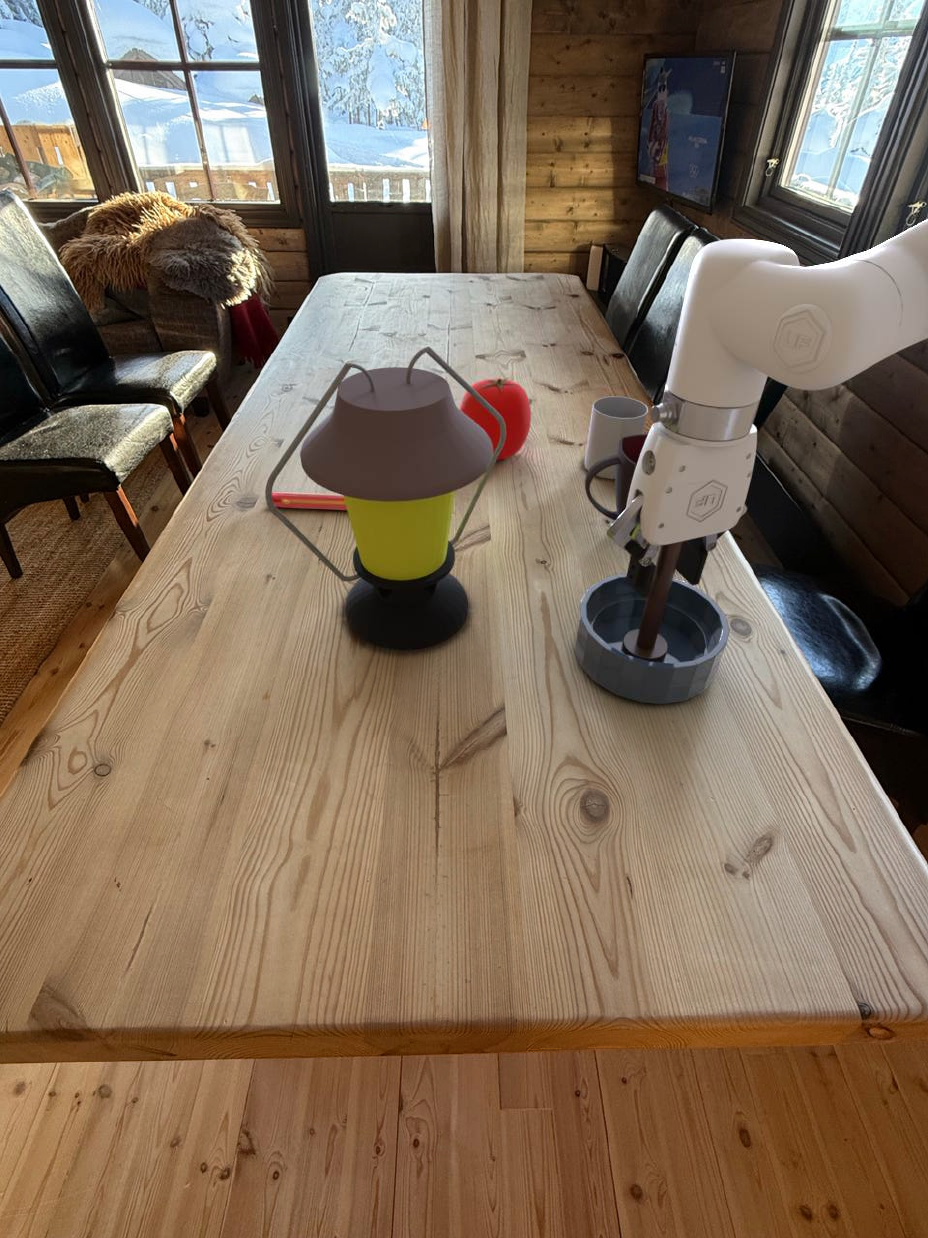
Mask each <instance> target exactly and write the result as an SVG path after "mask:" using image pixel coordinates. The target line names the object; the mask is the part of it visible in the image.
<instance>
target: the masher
mask: <svg viewBox="0 0 928 1238" xmlns="http://www.w3.org/2000/svg"><path fill="white" fill-rule="evenodd" d="M682 545H683V541H681V542H676V543H672V544H667V545H660V547H659V549H658V551H657V557H656V560H655V563H654V564H655V565H656V569H655V573H654V577H653V581H652V585H651V589H650V593H649V595H648V597H647V601H646V605H645V609H644V613H643V617H642V621H641V625H640V629H635V630H632V631H629V632H628V633H627V634H626V635H625V636H624V639H623V643H622V652H623V653H624V654H626V655H629V656H633V657H636V658H639V659H642V660H646V661H649V662H662V661H663V660H664V659H665V656H666V653H667V649H668V645H667V642H666V640H665V639H664V638H663V637H662V636H661V635H660V634H658V632H659V628H660V625H661V621H662V617H663V614H664V610H665V606H666V603H667V599H668V595H669V592H670V588H671V585H672V581H673V578H675V577H674V576H675V572H676V566H677V563H678V559H679V555H680V552H681V548H682Z"/></svg>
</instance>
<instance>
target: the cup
mask: <svg viewBox="0 0 928 1238" xmlns="http://www.w3.org/2000/svg"><path fill="white" fill-rule="evenodd" d="M648 415H649V408H648V406H647V405H646V403H644V402H642V401H641V400H638V399H634V398H632V397H628V396H627V397H626V396H619V395H615V396H614V395H613V396H604V397H601V398H597V399H596V400H594V402H593V403H592V407H591V415H590V421H589V428H588V436H587V441H586V449H585V455H584V468H585V469H586V470H587V472H588V471H589V469H590V468H591V467H592V466H593V465H594V464H595V463H596V462H598V461H599V460H601V459H603V458H606V457H609V456H613V455H617V448H618V443H619V440H620V438H621V437H625V436H630V435H637V434H645V431H646V424H647V421H648ZM615 469H616V465H613V466H610V467H607V468H605V469H603V470H602V471H600V472H599V473H598V474H597V475H596V476H595V477H599V478H603V479H609V480H615Z"/></svg>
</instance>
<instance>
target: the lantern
mask: <svg viewBox="0 0 928 1238" xmlns="http://www.w3.org/2000/svg"><path fill="white" fill-rule="evenodd" d="M424 354H427V355H428V356H429V357H430V358H431V359H432V360H433V361H434V362H435V363H437V365H439V366H440V368H442V369H443V370H444V371H445V372H446V373H447V374H448V375H449V376H450V377H452V378H453V380H455V381H456V382H457V383H458V384H459V385H460V386H461V387H462V388H463V389H464V390H465V391H466V392H467V391H468V392H469V393H470V394H471V395H472V396H473V397H474V398H475V399H476V400H477V401H478V402H479V403H480V404H481V405H483V406H484V407H485V408H486V409H487V410H488V411H489V412H490V413H491V414H492V415H493V416H494V417H495V418H496V419H497V420H498V422H499V424H500V428H501V436H500V441H499V444H498V446H497V448H496V450H495V452H494V454H493V445H492V442H491V439H490V438H489V436H488V435H487V433H486V432H485V430H484V429H483V428H481V427H480V426H479V425H478V424H477V423H476V422H474V421H473V420H472V419H471V418H469V417H468V416H467V415H466V414H464V413H463V412H462V411H461V410H460V408H459V407H457V404H456V402H455V399H454V396H453V392H452V390H451V386H450V384H449V382H448V381H447V379H445V378H444V377H443V376H441V375H439V374H437V373H436V372H432V371H429V370H426V369H425V370H424V369H420V368H414V367H415V364H416V362H417V361H418V360H419V359H420V357H422V356H423V355H424ZM352 368H353V369H357V370H359V371H360V372H357V373H355V374H352V375H350V376H348V377H346V376H347V374H348V373H349V371H350V370H351V369H352ZM345 377H346V378H345ZM335 392H336V395H335V401H334V406H333V409H332V411H331V412H330V413H329V414H328V415H327V417H325V418H324V419H323V420H322V421H321V422H320V423H318V425H317V426H315V428H314V429H312V430H311V431H310V433H309V434H308V435H307V433H308V432H309V430H310V429H311V428H312V426H313V424H314V423H315V422H316V420H317V419H318V417H319V416H320V415H321V413H322V411H323V410H324V408H325V407H326V406H327V404H328V402H329V401H330V399H331V398H332V397H333V395H334V393H335ZM306 435H307V436H306ZM305 436H306V438H305ZM304 438H305V439H304ZM505 438H506V426H505V422H504V420H503V418H502V416H501V415H500V414H499V413H498V412H497V411H496V410H495V409H494V408H493V407H492V406H491V405H490V404H489V403H488V402H487V401H486V400H485V399H484V398H482V397H481V396H480V395H479V394H478V393H477V392H476V391H475V390H474V389H473V388H472V387H471V385H470V384H469V383H468V382H467V381H466V380H465V379H464V378H462V376H461V375H460V374H459V373H458V372H457V371H455V369H453V368H452V367H451V365H449V364H448V363H447V362H446V361H445V360H444V359H443V358H442V357H441V356H440V355H439V354H438V353H437V352H436V351H434V349H432V347H430V346H426V347H424V348H422V349H420V350H419V351H417V352H416V353H415V354H414V356H413V357H412V358H411V360H410V361H409V364H408V366H407V367H403V366H402V367H401V366H394V367H393V366H392V367H391V366H390V367H380V368H372V369H368V370H367V369H366V368H365V367H363V366H362V365H360V364H357V363H353V362H345V363H344V365H343V367H342V368H341V369H340V370H339V373H338V374H337V375H336V377H335V378H334V380H333V382H332V383H331V384H330V386H329V387H328V389H327V390H326V392H325V394H323V395H322V397H321V399H320V400H319V402H318V403H317V405H316V406H315V407H314V409H313V411H312V412H311V414H310V416H309V417H308V418H307V420H306V421H305V423H304V425H303V426H302V427H301V428H300V430H299V431H298V433H297V434H296V436H295V438H294V439H293V441H292V442H291V443H290V445H289V446H288V448H287V449H286V450H285V452H284V453H283V455H282V457H281V458H280V460H279V461H278V462H277V464H276V466H275V467H274V468H273V470H272V471H271V473H270V474H269V477H268V479H267V481H266V484H265V490H264V494H265V495H264V496H265V502H266V505H267V507H268V509H269V511H270V512H271V513H272V514H273V515H274V516H275V517H276V518H277V519H278V520H280V522H281V523H282V524H283V525H284V526H285V527H287V528H288V530H289V531H291V533H293V535H295V537H297V538H298V539H299V540H300V541H301V542H302V544H304V545H305V546H306V547H307V548H308V549H309V550H310V551H311V552H312V553H313V554H314V555H315V556H316V557H317V558H318V560H320V561H321V562H322V564H324V565H325V566H326V567H327V568H328V569H329V570H330V571H331V572H332V573H333V574H334V575H335V576H336V577H337V578H338V579H339V580H340V581H342V582H354V581H356V582H355V583H354V585H353V586H352V587H351V588H350V589H349V590H350V591H349V592H348V594H347V597H346V600H345V601H346V602H345V616H346V620H347V623H348V624H349V626H350V628H351V630H352V632H354V633H355V634H356V635H357V636H358V637H359V638H361V639H362V640H363V641H365V642H367V643H369V644H372V645H374V646H377V647H380V648H384V649H389V650H398V651H410V650H418V649H424V648H429V647H431V646H435V645H438V644H440V643H442V642H444V641H446V640H448V639H449V638H451V637H452V636H453V635H454V634H456V633H457V632H458V631H459V630H460V628H461V627H462V626H463V624H464V622H465V621H466V618H467V615H468V611H469V600H468V599H469V598H468V596H467V592H466V590H465V588H464V586H463V585H462V584H461V582H460V581H459V580H458V579H457V578H456V577H455V576H454V575H453V574H452V573H451V571H452V570H453V568H454V566H455V562H456V553H455V551H456V550H455V548H454V545H455V544H456V543H458V541H459V540H460V538H461V536H462V534H463V532H464V529H465V527H466V525H467V523H468V521H469V519H470V518H471V515H472V513H473V510H474V509H475V507H476V505H477V502H478V500H479V498H480V496H481V494H482V492H483V489H484V488H485V485H486V483H487V481H488V479H489V477H490V475H491V473H492V470H493V468H494V466H495V464H496V462H497V461H498V460H497V458H498V456H499V454H500V452H501V450H502V448H503V445H504V443H505ZM303 439H304V441H303ZM302 441H303V442H302ZM301 442H302V444H301ZM299 445H301V448H300V450H299V451H300V452H299V458H300V464H301V467H302V470H303V471H304V473H305V474H306V476H307V477H308V478H309V479H310V480H311V481H312V482H314V484H316V485H317V486H320V487H321V488H324V489H325V490H327V491H330V492H332V493H335V494H337V495H343V496H344V500H345V504H346V507H347V510H346V511H347V514H348V518H349V522H350V525H351V529H352V533H353V536H354V540H355V544H356V547H355V548H354V550H353V553H352V564H353V568H354V571H355V572H356V573H355V574H353V575H344V573H342V572H341V571H340V570H339V568H338V567H337V566H336V565H334V564H333V562H332V561H331V560H329V559H328V557H326V555H324V553H322V552H321V551H320V550H319V548H317V547H316V546H315V544H314V543H312V542H311V540H310V539H308V538H307V537H306V536H305V535H304V534H303V533H302V531H301V530H299V528H297V526H295V524H294V523H292V522H291V521H290V519H288V518H287V516H286V515H284V513H282V512H281V511H280V510H279V509H278V508H277V506H275V505H274V503H273V499H272V492H273V487H274V483H275V481H277V480H276V479H277V478H278V476H279V475H280V474H281V472H282V471H283V469H284V467H285V466H286V464H287V463H288V462H289V460H290V458H291V457H292V455H293V454H294V453H295V451H296V450H297V448H298V447H299ZM479 478H481V480H480V482H479V484H478V486H477V488H476V490H475V493H474V494H473V496H472V498H471V501H470V503H469V505H468V507H467V509H466V512H465V513H464V516H463V518H462V520H461V522H460V524H459V527H458V529H457V530H456V533H455V535H454V537H453V538H452V539H450V533H451V525H452V518H453V517H452V516H453V511H454V503H455V496H456V492H457V491H458V490H460V489H463V488H465V487H467V486H469V485H470V484H472V483H474V482H475V481H477V480H479Z"/></svg>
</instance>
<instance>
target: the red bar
mask: <svg viewBox="0 0 928 1238" xmlns="http://www.w3.org/2000/svg"><path fill="white" fill-rule="evenodd" d="M272 499H273V503H274V505H275V507H280V508H290V509H291V508H293V509H311V510H312V509H313V510H314V509H317V510H340V511H347V507H346V504H345V500H344V496H343V495H341V494H330V493H329V494H328V493H306V492H305V493H303V492H283V491H282V492H274V491H272Z"/></svg>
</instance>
